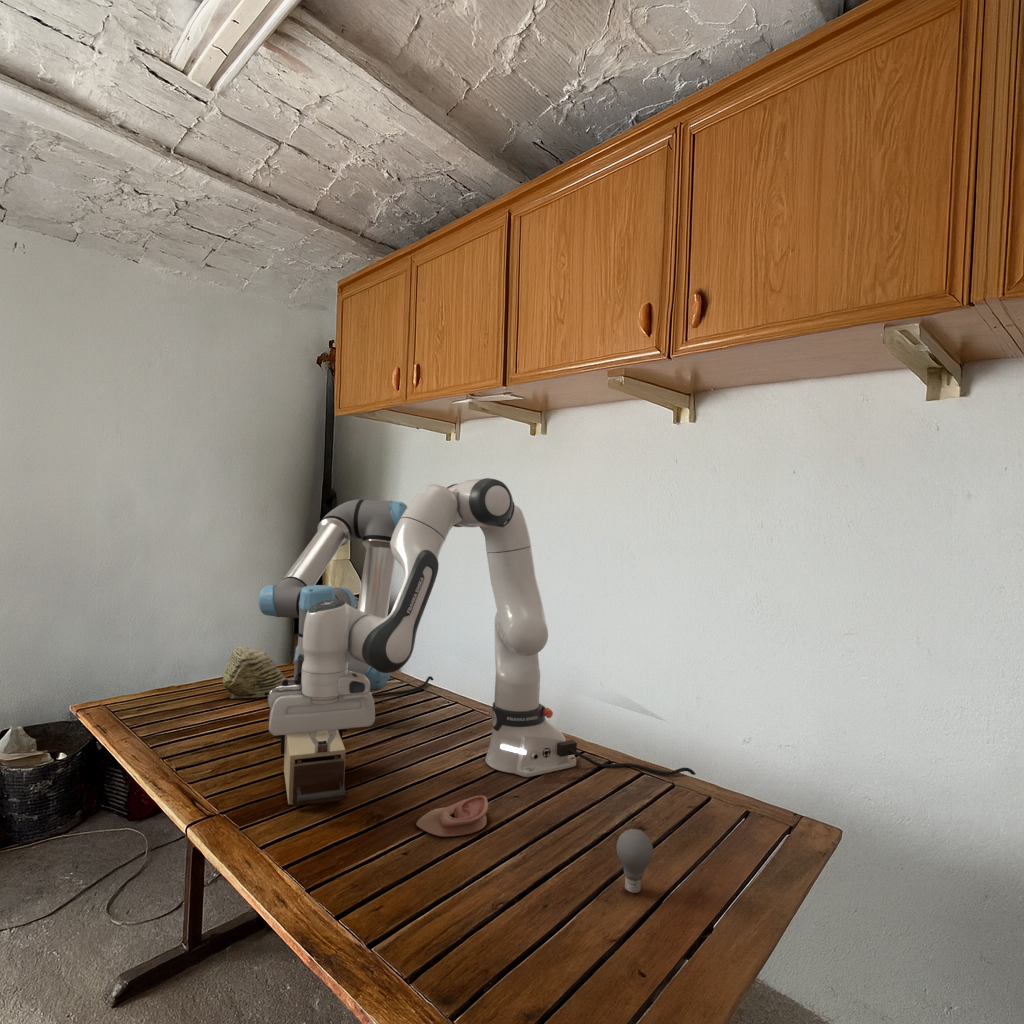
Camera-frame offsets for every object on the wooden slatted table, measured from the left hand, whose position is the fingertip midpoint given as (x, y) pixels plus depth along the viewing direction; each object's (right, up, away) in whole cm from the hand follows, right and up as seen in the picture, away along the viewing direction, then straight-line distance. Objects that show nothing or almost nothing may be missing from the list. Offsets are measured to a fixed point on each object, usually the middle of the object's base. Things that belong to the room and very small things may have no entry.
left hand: (311, 749), depth 144 cm
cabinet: (+2, -6, -5) cm, 8 cm away
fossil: (-35, -3, +54) cm, 64 cm away
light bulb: (+66, -9, -39) cm, 77 cm away
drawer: (+4, -5, -11) cm, 13 cm away
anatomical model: (+34, -8, -19) cm, 40 cm away
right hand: (+8, +6, -18) cm, 21 cm away
